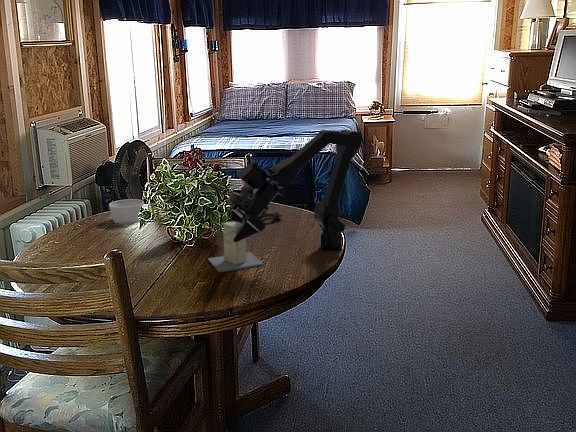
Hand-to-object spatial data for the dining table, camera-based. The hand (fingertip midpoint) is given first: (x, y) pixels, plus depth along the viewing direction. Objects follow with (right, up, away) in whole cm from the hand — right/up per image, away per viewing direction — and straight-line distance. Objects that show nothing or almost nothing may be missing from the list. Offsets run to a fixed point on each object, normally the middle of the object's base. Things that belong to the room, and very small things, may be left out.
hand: (229, 237), depth 192 cm
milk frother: (+8, +6, +52) cm, 53 cm away
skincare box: (+2, -8, +3) cm, 8 cm away
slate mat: (+1, -8, +3) cm, 9 cm away
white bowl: (-44, +5, +52) cm, 68 cm away
